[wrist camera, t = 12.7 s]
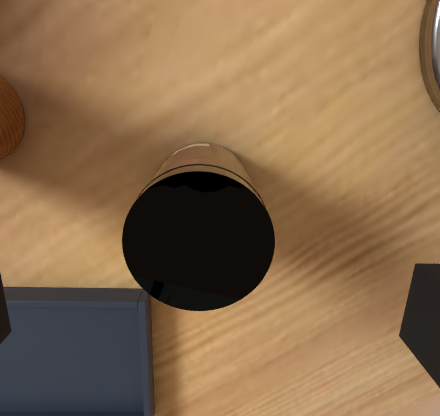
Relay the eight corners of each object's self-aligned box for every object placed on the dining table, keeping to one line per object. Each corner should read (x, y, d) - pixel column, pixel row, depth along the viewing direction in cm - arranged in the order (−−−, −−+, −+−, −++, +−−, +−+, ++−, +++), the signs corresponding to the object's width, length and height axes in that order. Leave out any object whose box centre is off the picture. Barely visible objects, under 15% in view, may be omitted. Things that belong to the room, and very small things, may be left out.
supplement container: (178, 241, 26) (158, 329, 16) (142, 160, 24) (94, 202, 14) (260, 212, 25) (293, 284, 15) (231, 126, 23) (247, 146, 13)
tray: (150, 288, 27) (145, 302, 25) (154, 412, 31) (151, 432, 29) (-121, 285, 26) (-146, 299, 24) (-80, 413, 30) (-99, 432, 29)
